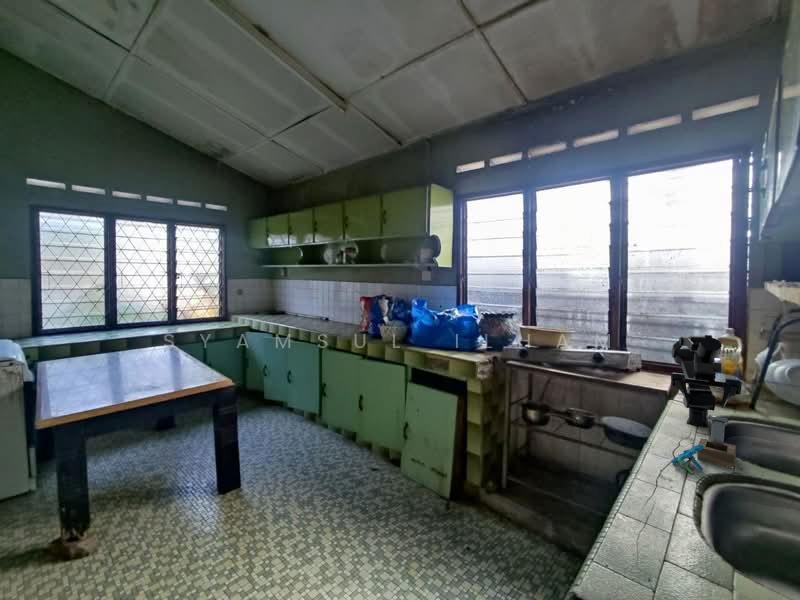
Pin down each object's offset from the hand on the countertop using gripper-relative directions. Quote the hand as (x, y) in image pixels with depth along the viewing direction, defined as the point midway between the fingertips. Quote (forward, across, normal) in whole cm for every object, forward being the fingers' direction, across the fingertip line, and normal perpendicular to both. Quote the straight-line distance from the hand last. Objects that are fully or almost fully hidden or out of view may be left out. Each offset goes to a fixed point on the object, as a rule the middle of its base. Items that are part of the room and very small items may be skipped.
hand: (704, 404), depth 122 cm
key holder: (+17, +3, +2) cm, 18 cm away
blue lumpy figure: (+25, -4, -6) cm, 26 cm away
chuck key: (+17, +3, +2) cm, 17 cm away
